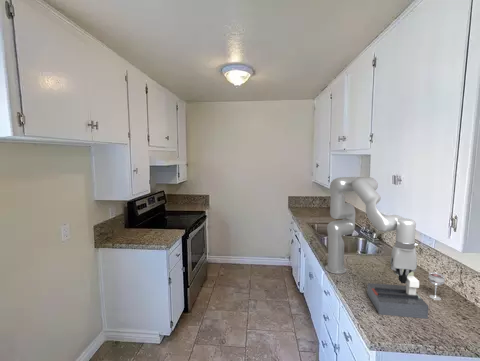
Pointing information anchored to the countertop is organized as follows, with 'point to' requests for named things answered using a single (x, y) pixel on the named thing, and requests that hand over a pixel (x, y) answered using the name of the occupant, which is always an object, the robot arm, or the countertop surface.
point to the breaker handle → (411, 285)
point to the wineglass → (436, 282)
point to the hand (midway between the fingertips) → (402, 282)
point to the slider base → (396, 301)
